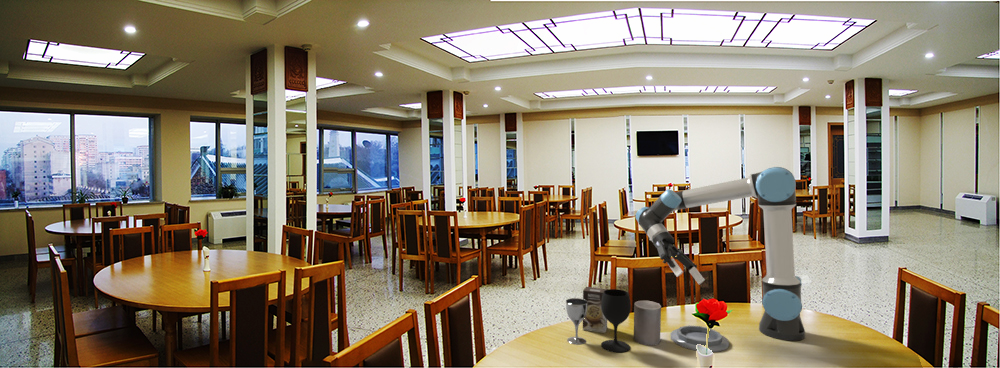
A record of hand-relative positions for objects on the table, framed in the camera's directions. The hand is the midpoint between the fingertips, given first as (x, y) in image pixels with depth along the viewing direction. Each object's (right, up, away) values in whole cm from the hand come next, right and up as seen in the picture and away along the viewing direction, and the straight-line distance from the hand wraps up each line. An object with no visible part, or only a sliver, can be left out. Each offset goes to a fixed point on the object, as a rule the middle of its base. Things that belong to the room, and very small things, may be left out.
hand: (691, 278), depth 163 cm
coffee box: (-31, -24, +17) cm, 43 cm away
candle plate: (+5, -24, +5) cm, 25 cm away
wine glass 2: (-28, -25, 0) cm, 37 cm away
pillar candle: (-14, -25, +5) cm, 29 cm away
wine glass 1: (-41, -25, +6) cm, 48 cm away
